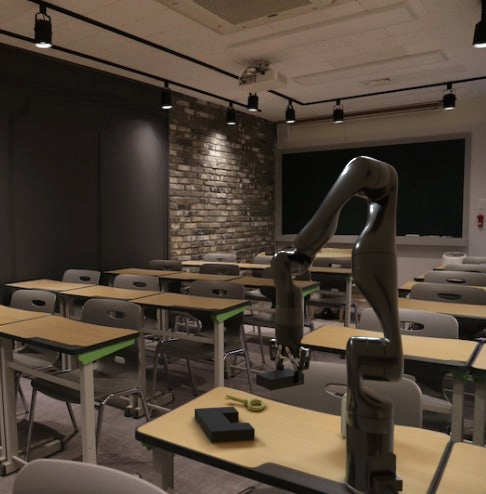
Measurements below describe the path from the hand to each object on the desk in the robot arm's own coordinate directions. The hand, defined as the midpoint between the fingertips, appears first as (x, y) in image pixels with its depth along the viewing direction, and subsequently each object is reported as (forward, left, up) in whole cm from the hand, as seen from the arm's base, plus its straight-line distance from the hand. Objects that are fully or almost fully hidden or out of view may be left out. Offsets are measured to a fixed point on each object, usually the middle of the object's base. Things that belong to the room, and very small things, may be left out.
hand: (288, 380), depth 138 cm
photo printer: (-7, -16, -13) cm, 22 cm away
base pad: (+1, +19, -13) cm, 23 cm away
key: (+17, +6, -13) cm, 22 cm away
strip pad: (-1, +3, -1) cm, 3 cm away
